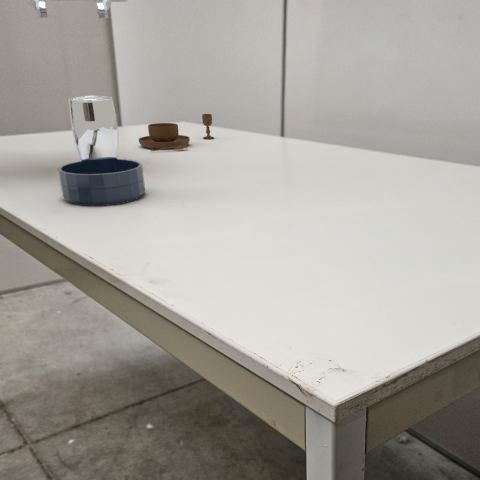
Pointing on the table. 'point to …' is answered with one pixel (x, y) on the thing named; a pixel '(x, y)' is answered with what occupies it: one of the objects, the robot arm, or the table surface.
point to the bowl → (102, 184)
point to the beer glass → (95, 133)
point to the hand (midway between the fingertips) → (73, 15)
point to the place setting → (170, 135)
